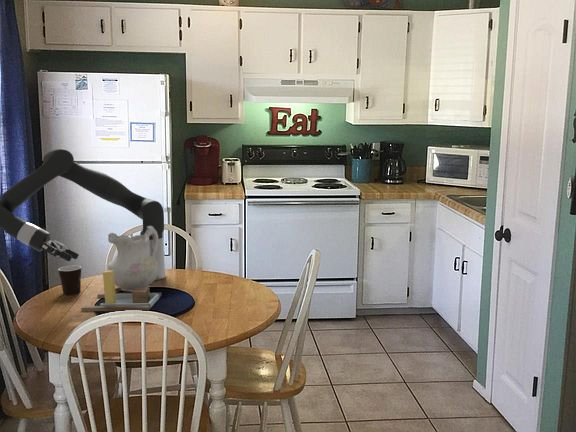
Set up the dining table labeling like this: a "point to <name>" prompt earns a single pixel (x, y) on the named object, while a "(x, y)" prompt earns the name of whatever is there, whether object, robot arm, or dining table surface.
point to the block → (141, 295)
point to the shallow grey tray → (121, 299)
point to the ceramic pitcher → (134, 260)
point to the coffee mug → (70, 279)
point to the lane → (113, 308)
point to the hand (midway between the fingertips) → (74, 258)
